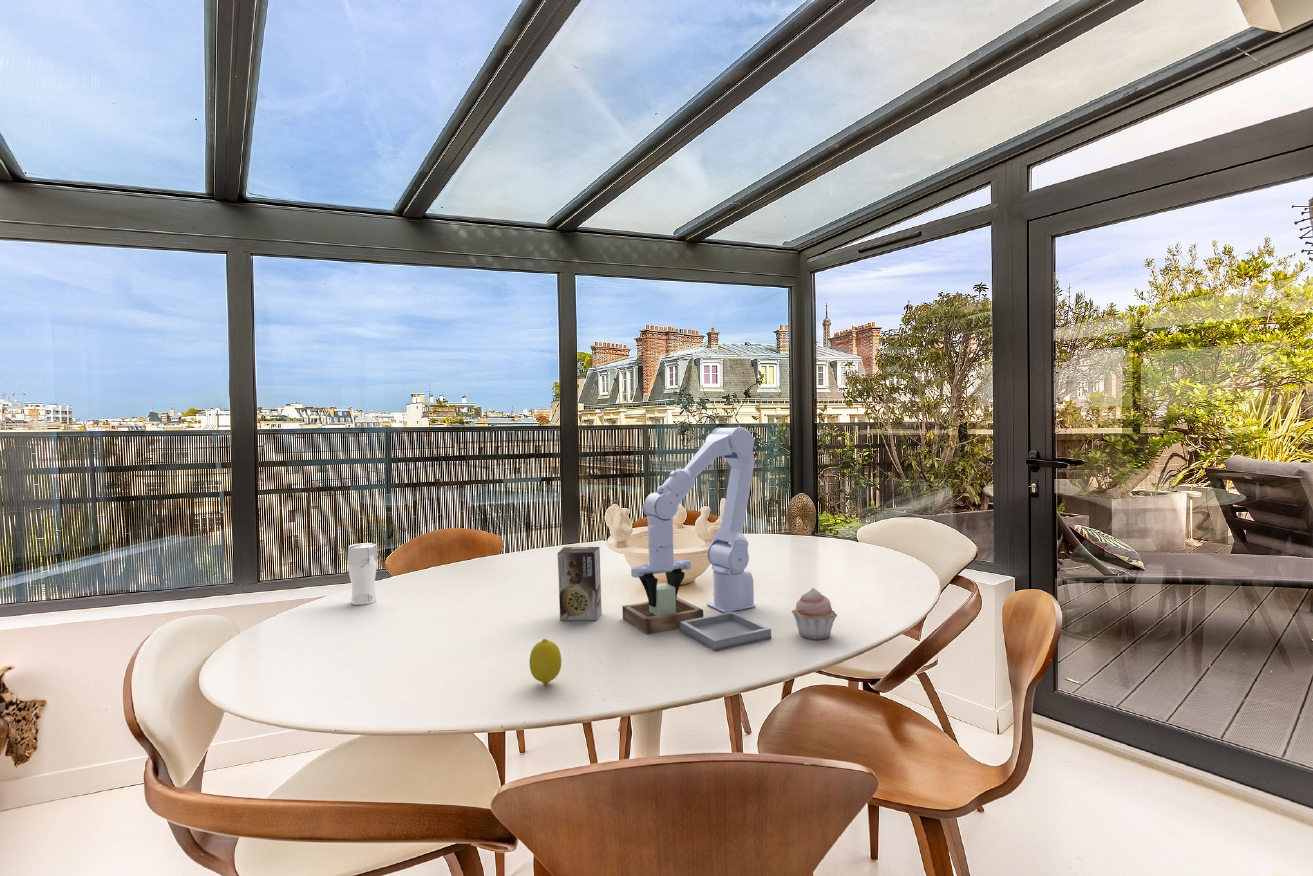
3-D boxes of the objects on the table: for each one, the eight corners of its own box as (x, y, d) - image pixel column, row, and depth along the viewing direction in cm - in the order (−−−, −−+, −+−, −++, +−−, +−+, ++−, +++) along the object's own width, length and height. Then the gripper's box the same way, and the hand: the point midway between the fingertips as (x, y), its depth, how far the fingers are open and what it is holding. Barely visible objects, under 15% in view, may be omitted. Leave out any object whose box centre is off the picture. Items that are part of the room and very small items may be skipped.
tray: (732, 620, 141) (732, 611, 141) (771, 638, 129) (771, 628, 129) (679, 630, 135) (679, 621, 135) (714, 651, 122) (714, 641, 122)
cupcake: (825, 626, 136) (824, 581, 135) (845, 640, 126) (844, 592, 126) (784, 629, 134) (784, 583, 134) (802, 644, 125) (801, 595, 125)
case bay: (676, 609, 151) (676, 596, 151) (703, 623, 140) (703, 609, 140) (622, 618, 144) (622, 606, 144) (646, 634, 133) (646, 620, 133)
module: (666, 608, 145) (665, 583, 145) (675, 613, 141) (675, 587, 141) (649, 611, 143) (648, 585, 143) (658, 616, 139) (657, 590, 139)
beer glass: (370, 605, 159) (368, 547, 159) (343, 606, 159) (341, 548, 159) (382, 598, 166) (381, 542, 166) (357, 598, 166) (355, 543, 166)
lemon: (531, 678, 111) (530, 634, 111) (563, 677, 111) (561, 633, 111) (528, 692, 105) (526, 645, 105) (560, 690, 106) (559, 643, 106)
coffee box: (602, 612, 149) (600, 546, 149) (597, 621, 143) (595, 551, 142) (565, 612, 150) (563, 546, 150) (558, 620, 144) (556, 551, 143)
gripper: (640, 552, 134) (641, 613, 135) (697, 544, 141) (698, 603, 142) (626, 546, 141) (628, 605, 141) (681, 539, 147) (682, 596, 148)
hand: (662, 604), depth 142 cm, fingers closed on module, 4 cm apart
